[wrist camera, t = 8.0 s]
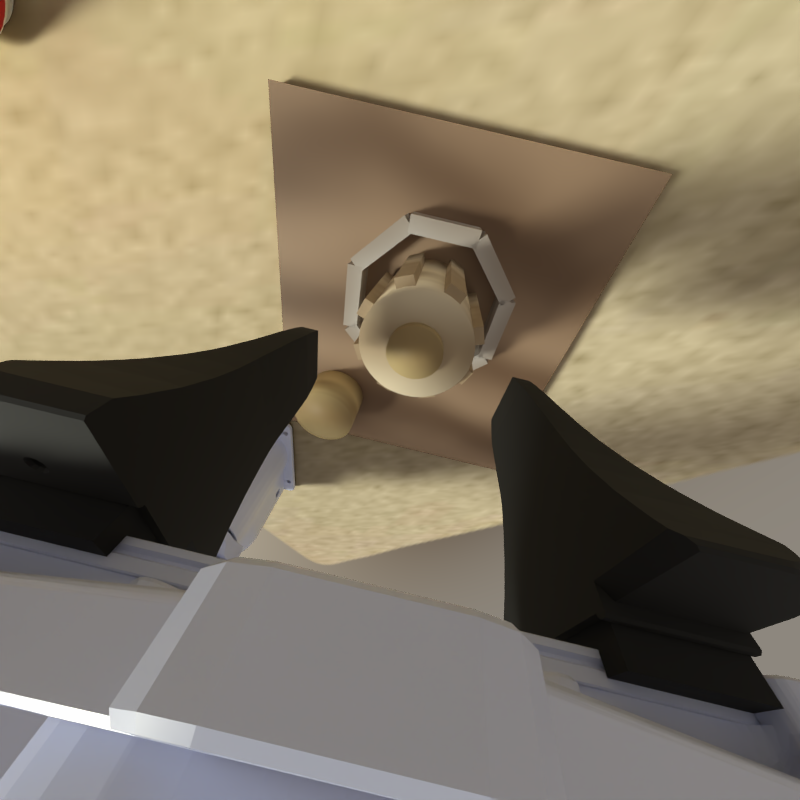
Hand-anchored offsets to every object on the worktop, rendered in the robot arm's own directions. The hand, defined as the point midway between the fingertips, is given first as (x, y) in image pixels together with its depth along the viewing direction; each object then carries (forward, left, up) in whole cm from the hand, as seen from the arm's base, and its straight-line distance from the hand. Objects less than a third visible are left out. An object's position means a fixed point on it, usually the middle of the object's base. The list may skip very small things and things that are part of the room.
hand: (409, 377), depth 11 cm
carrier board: (-2, 0, -9) cm, 9 cm away
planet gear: (0, 0, -8) cm, 8 cm away
